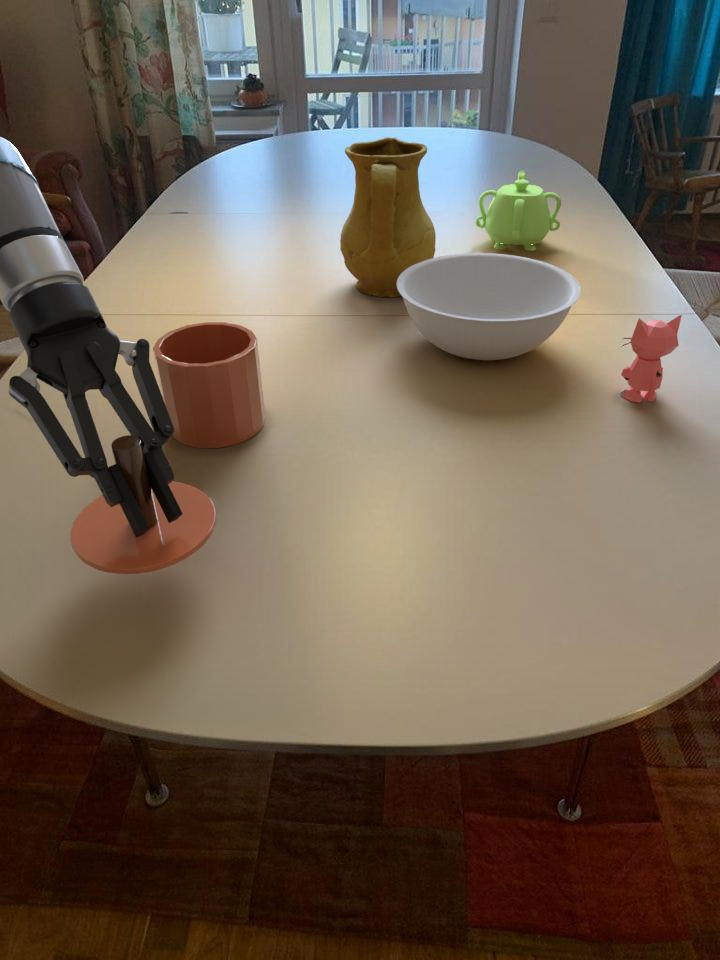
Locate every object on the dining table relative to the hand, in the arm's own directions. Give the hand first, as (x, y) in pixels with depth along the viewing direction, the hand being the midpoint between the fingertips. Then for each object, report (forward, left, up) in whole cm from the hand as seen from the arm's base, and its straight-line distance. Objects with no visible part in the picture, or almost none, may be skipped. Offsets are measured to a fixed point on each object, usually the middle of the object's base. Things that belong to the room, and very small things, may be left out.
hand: (159, 525), depth 67 cm
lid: (-3, +3, -3) cm, 5 cm away
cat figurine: (+57, +38, -9) cm, 69 cm away
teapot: (+50, +105, -9) cm, 117 cm away
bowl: (+37, +55, -9) cm, 67 cm away
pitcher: (+22, +80, -9) cm, 83 cm away
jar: (-1, +32, -9) cm, 33 cm away
